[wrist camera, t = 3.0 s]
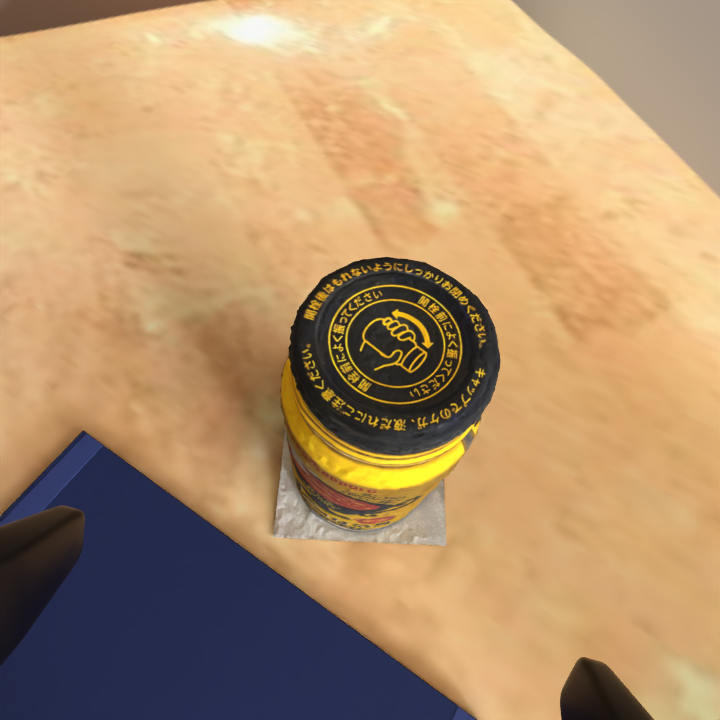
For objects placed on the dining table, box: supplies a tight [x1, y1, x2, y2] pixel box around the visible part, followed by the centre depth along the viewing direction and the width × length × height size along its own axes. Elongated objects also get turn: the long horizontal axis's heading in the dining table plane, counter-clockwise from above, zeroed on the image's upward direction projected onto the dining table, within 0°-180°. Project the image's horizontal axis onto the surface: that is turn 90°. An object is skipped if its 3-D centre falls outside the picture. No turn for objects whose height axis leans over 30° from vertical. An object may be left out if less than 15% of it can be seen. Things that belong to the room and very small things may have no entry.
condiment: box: [273, 257, 500, 546], centre depth 18 cm, size 7×8×12 cm
